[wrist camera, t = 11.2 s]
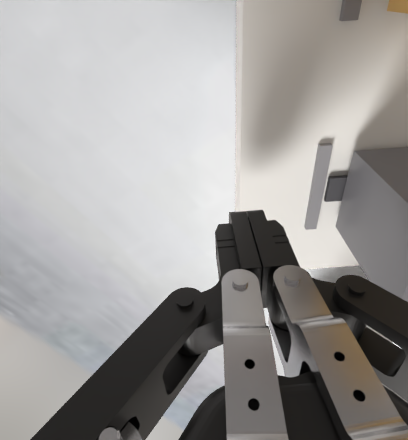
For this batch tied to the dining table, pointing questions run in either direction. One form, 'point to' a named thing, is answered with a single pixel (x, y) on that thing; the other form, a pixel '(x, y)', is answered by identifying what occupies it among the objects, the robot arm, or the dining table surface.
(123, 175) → the dining table surface
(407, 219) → the fader charcoal
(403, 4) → the fader amber
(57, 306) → the dining table surface
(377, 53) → the board
